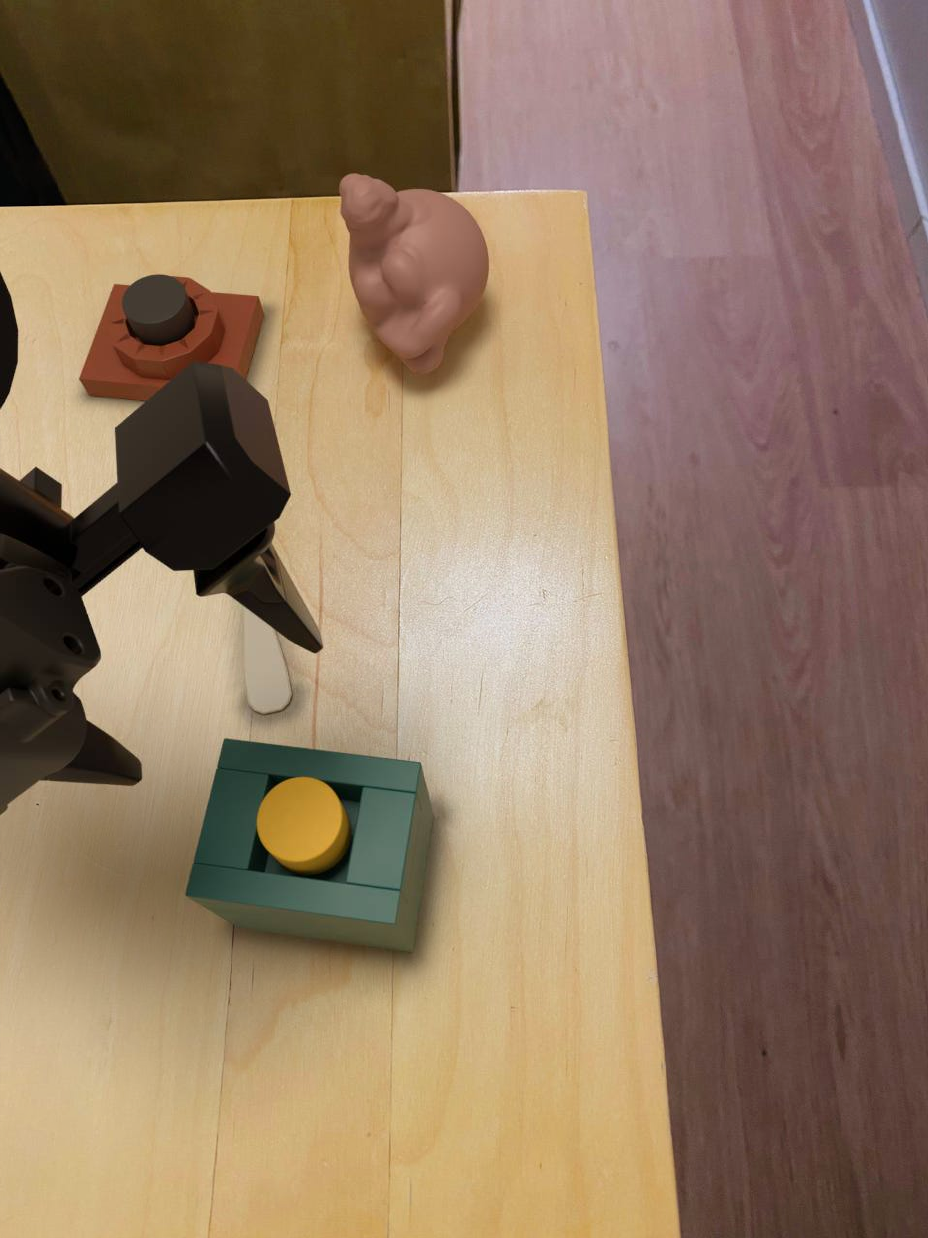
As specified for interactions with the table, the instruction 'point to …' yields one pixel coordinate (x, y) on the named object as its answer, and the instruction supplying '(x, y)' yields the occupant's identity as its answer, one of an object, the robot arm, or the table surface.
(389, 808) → the green push button box
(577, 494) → the table surface
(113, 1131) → the table surface
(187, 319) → the far button
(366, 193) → the figurine
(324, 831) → the cylinder
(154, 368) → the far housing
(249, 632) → the fork
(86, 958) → the table surface
